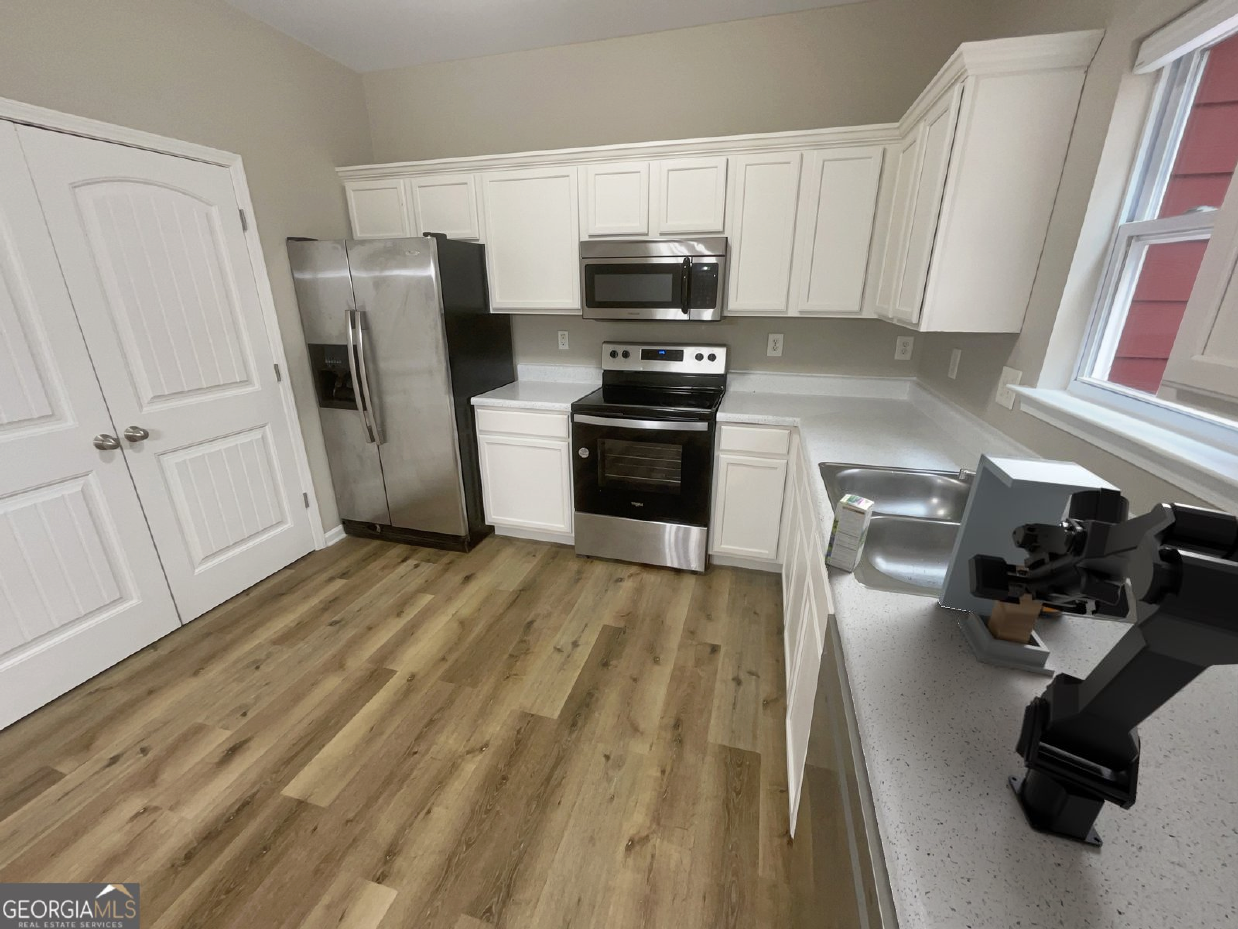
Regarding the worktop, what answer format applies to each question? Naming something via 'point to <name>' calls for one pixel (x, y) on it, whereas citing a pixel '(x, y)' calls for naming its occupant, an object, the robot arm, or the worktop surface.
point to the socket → (1004, 647)
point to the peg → (1014, 618)
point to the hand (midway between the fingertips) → (1014, 597)
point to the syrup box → (849, 532)
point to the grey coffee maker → (1008, 515)
